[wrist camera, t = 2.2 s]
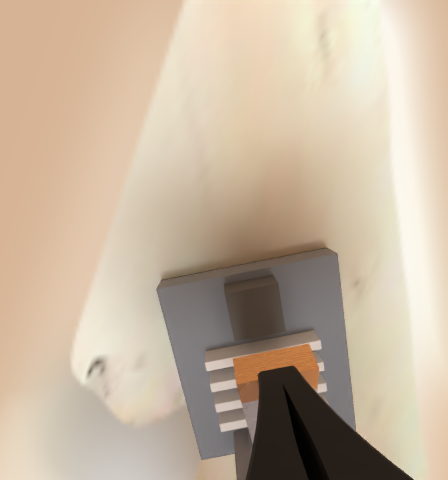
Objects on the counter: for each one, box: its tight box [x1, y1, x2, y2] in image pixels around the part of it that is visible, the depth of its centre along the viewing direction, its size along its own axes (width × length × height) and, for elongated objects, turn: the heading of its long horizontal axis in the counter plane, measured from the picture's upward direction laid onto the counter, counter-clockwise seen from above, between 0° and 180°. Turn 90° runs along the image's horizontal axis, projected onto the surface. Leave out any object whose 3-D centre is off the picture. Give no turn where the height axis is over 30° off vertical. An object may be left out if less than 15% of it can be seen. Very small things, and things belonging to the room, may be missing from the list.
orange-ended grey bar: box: [233, 344, 319, 444], centre depth 13 cm, size 12×3×1 cm, turn 11°
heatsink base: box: [157, 248, 356, 480], centre depth 16 cm, size 13×11×5 cm
